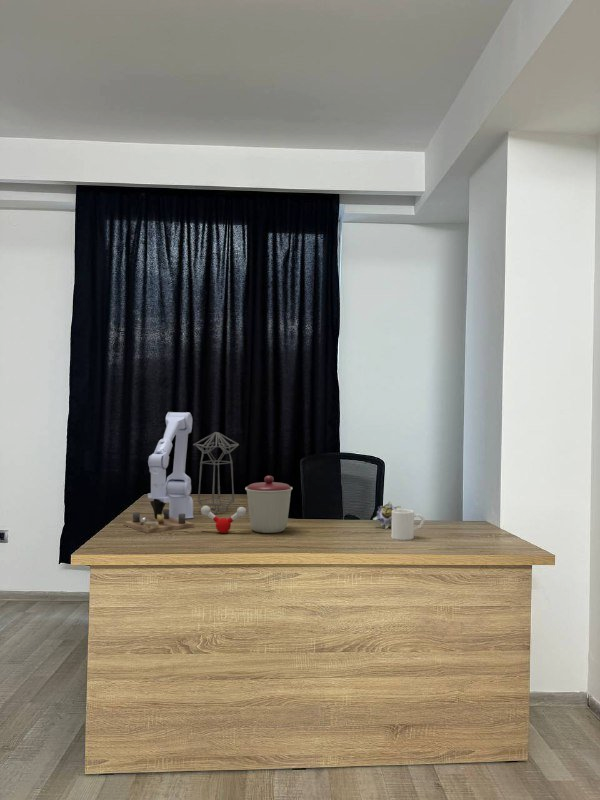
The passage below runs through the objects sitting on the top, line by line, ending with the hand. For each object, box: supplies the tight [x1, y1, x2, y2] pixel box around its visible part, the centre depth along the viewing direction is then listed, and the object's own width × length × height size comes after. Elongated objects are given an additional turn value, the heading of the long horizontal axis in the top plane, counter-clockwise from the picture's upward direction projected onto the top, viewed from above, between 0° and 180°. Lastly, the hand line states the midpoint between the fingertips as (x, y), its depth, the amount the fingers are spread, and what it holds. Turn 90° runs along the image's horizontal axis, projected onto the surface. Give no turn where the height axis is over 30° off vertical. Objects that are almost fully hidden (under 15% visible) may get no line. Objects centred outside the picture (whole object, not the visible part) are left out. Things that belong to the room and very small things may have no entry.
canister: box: [244, 475, 293, 534], centre depth 279 cm, size 18×18×21 cm
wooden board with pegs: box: [123, 508, 195, 534], centre depth 287 cm, size 20×20×5 cm
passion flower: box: [372, 501, 402, 530], centre depth 289 cm, size 11×11×12 cm
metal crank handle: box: [140, 513, 164, 525], centre depth 284 cm, size 9×3×3 cm, turn 115°
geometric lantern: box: [192, 431, 240, 514], centre depth 322 cm, size 16×16×35 cm
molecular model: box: [200, 505, 248, 534], centre depth 275 cm, size 18×6×10 cm, turn 79°
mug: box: [390, 508, 426, 541], centre depth 267 cm, size 8×12×10 cm, turn 82°
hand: (158, 518), depth 287 cm, fingers closed, pressing on metal crank handle
